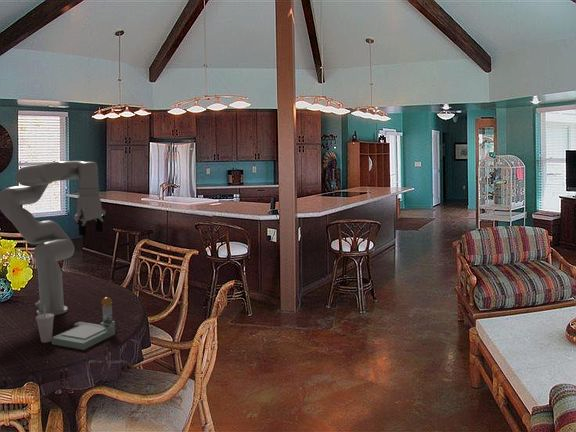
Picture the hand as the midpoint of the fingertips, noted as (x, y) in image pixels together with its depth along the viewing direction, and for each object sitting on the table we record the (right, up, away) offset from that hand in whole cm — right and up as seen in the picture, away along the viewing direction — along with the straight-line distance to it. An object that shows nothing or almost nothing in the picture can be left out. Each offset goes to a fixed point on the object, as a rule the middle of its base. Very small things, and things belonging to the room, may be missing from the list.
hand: (91, 233), depth 220 cm
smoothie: (-10, -40, -19) cm, 45 cm away
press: (+2, -39, -15) cm, 42 cm away
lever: (+10, -37, -8) cm, 39 cm away
